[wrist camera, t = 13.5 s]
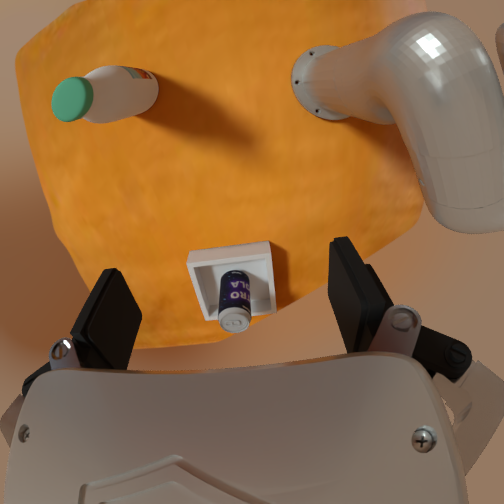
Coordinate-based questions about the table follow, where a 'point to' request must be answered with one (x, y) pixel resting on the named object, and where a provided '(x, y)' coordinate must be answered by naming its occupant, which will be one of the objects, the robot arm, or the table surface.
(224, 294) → the beverage can
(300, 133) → the table surface
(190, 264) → the box
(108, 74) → the milk bottle
